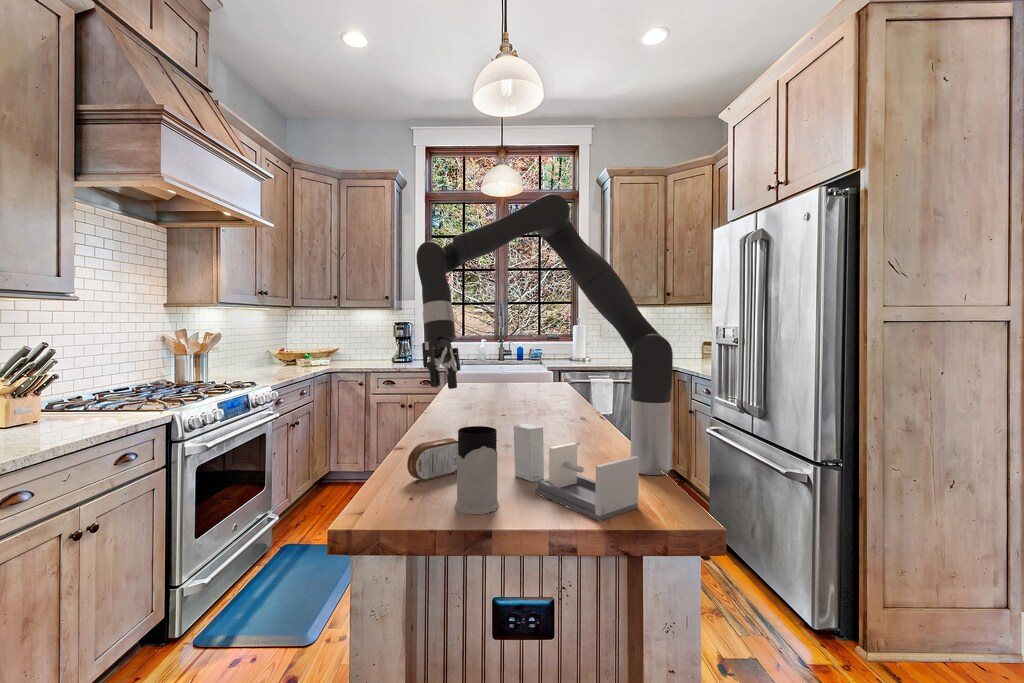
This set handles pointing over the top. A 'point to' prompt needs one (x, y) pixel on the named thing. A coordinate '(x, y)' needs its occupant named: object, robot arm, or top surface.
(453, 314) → the robot arm
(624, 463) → the pusher lane
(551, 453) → the panel
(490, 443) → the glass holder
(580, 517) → the top surface
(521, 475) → the skincare box
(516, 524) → the top surface
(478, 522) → the top surface
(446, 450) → the tin
